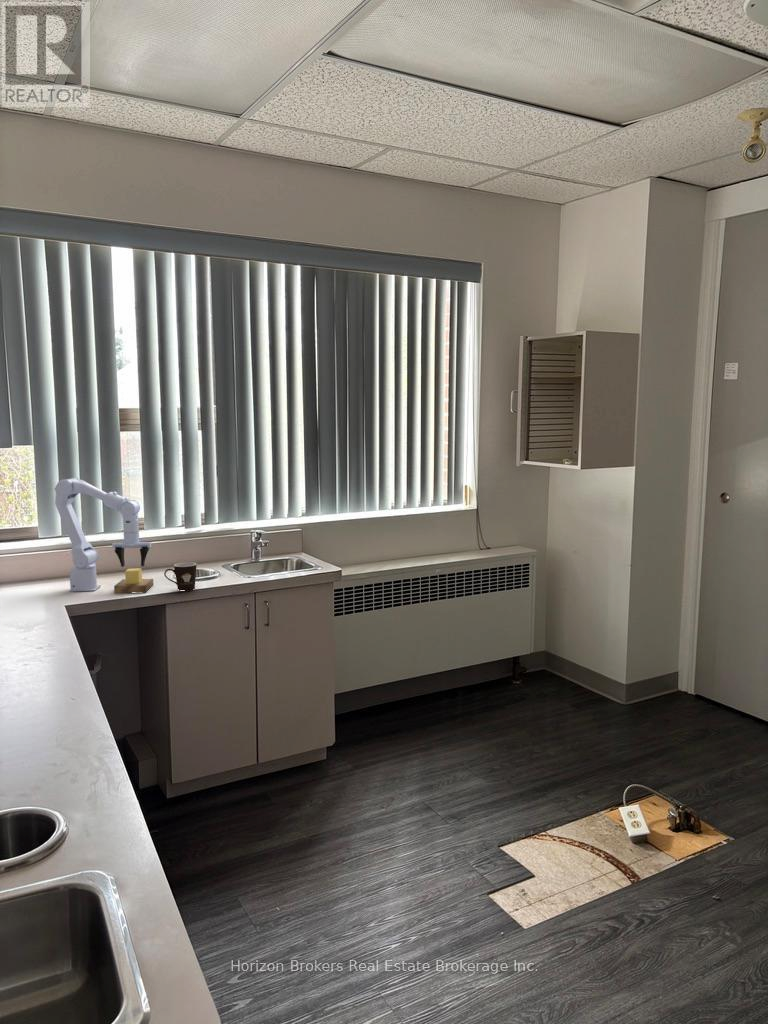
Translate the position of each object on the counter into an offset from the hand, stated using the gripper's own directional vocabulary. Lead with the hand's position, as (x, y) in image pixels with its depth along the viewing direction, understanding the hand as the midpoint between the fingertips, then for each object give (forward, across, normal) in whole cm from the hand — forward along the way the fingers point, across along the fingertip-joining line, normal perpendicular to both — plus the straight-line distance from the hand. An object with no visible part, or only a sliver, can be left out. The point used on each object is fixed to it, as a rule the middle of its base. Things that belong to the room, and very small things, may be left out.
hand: (132, 566), depth 302 cm
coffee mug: (+10, +19, -2) cm, 22 cm away
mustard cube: (+6, 0, 0) cm, 6 cm away
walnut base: (+9, 0, 0) cm, 9 cm away
